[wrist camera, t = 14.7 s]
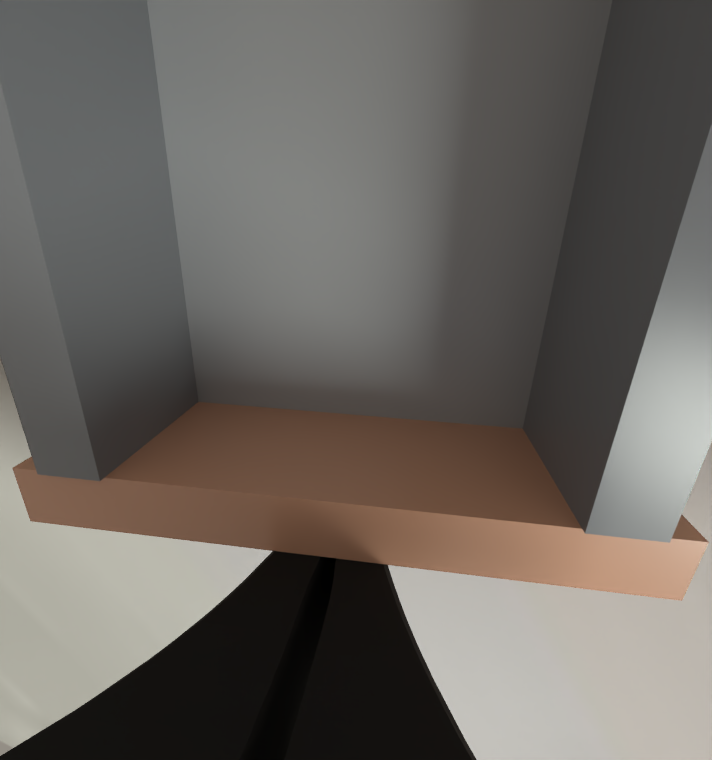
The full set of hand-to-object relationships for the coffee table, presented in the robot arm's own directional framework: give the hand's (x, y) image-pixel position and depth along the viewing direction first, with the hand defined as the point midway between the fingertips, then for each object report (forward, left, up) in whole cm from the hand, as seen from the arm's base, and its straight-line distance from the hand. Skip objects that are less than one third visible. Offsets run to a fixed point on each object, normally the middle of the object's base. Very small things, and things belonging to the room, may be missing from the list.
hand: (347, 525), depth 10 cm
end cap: (0, -2, -1) cm, 2 cm away
